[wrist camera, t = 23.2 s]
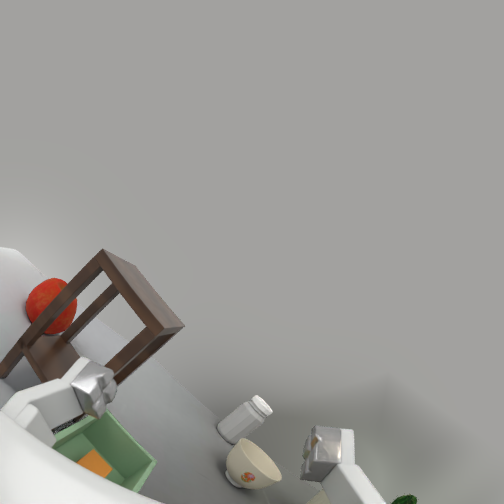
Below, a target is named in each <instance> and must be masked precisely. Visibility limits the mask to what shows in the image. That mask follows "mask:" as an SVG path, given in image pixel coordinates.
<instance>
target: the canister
mask: <svg viewBox="0 0 504 504" xmlns="http://www.w3.org/2000/svg"><path fill="white" fill-rule="evenodd" d="M307 504H331V503H330V501H329V499H328V497H327V495H326V493H325V491H324V489H322V490H321V491H320V492H319V493H318V494H317V495H316V496H315V497H313V498H312V499H311V500H310V501H309V502H308V503H307Z"/></svg>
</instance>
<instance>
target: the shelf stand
mask: <svg viewBox="0 0 504 504" xmlns="http://www.w3.org/2000/svg"><path fill="white" fill-rule="evenodd" d="M103 270H104V272H105V273H106V274H107V276H108V277H109V279H110V280H111V281H112V284H111V285H110V286H109V287H108V288H107V289H106V290H105V291H104V292H103V293H102V294H101V295H100V296H99V297H98V298H97V299H96V300H95V301H94V302H93V303H92V304H91V305H90V306H89V307H88V308H87V309H86V310H85V311H84V312H83V313H82V314H81V315H80V316H79V317H78V318H77V319H76V320H75V321H74V322H73V323H72V324H71V325H70V326H69V327H68V328H67V330H66V331H65V332H64V333H63V334H62V335H61V336H41V335H42V334H43V333H44V332H45V331H46V330H47V328H48V327H49V326H50V325H51V324H52V323H53V322H54V321H55V320H56V319H57V317H58V316H59V315H60V314H61V313H62V312H63V311H64V310H65V309H66V308H67V307H68V306H69V305H70V304H71V302H72V301H73V300H74V299H75V298H76V297H77V296H78V295H79V294H80V293H81V292H82V291H83V290H84V289H85V288H86V287H87V286H88V285H89V284H90V283H91V282H92V281H93V280H94V279H95V278H96V277H97V276H98V275H99V274H100V273H101V272H102V271H103ZM119 293H120V294H121V295H122V296H123V297H124V299H125V300H126V301H127V303H128V304H129V305H130V306H131V308H132V309H133V310H134V311H135V313H136V314H137V315H138V317H139V318H140V319H141V320H142V321H143V323H144V324H145V325H146V328H144V329H143V330H142V331H141V332H140V333H139V334H138V335H137V336H136V337H135V338H134V339H133V340H131V341H130V342H129V343H128V344H127V345H126V346H125V347H124V348H123V349H122V350H121V351H120V352H119V353H118V354H116V355H115V356H114V357H113V358H112V359H111V360H110V361H109V362H108V363H107V364H106V365H105V367H107V368H109V369H111V370H113V372H114V377H113V379H114V380H115V382H116V384H117V387H118V386H119V385H120V384H121V383H122V382H123V381H124V380H125V379H127V378H128V377H129V376H130V375H131V374H132V373H133V372H134V371H136V370H137V369H138V368H139V367H140V366H141V365H142V364H143V363H145V362H146V361H147V360H148V359H149V358H150V357H151V356H152V355H153V354H154V353H156V352H157V351H158V350H159V349H160V348H161V347H162V346H163V345H165V344H166V343H167V342H168V341H169V340H170V339H171V338H172V337H173V336H175V335H176V334H177V333H178V332H179V331H180V330H181V329H182V328H183V327H185V325H184V324H183V323H182V322H181V321H180V319H179V318H178V317H177V316H176V315H175V314H174V312H173V311H172V310H171V309H170V308H169V307H168V305H167V304H166V303H165V302H164V301H163V300H162V298H161V297H160V296H159V295H158V293H157V292H156V291H155V290H154V289H153V288H152V286H151V285H150V284H149V282H148V281H147V280H146V279H145V278H144V276H143V275H142V274H141V272H140V271H139V270H138V269H137V268H136V266H135V265H133V264H131V263H129V262H127V261H125V260H123V259H121V258H119V257H117V256H116V255H114V254H112V253H110V252H108V251H106V250H104V249H102V250H101V251H99V253H97V255H96V256H94V258H92V259H91V260H90V261H89V262H88V263H87V264H86V266H84V267H83V268H82V270H81V271H80V272H79V273H78V274H77V275H76V276H75V277H74V278H73V279H72V280H71V281H70V282H69V283H68V284H67V285H66V286H65V287H64V288H63V289H62V291H61V292H60V293H59V294H58V295H57V296H56V297H55V298H54V299H53V300H52V302H51V303H50V304H49V305H48V306H47V307H46V308H45V309H44V311H43V312H42V313H41V314H40V315H39V316H38V317H37V319H36V320H35V321H34V322H33V323H32V324H31V326H30V327H29V328H28V329H27V330H26V332H25V333H24V334H23V335H22V336H21V338H20V339H19V340H18V341H17V343H16V344H15V345H14V346H13V348H12V349H11V350H10V351H9V353H8V354H7V355H6V357H5V358H4V359H3V361H2V362H1V363H0V379H1V378H6V377H7V376H8V375H9V373H10V372H11V371H12V370H13V368H14V367H15V366H16V365H17V363H18V362H19V361H20V360H21V359H22V357H23V356H24V355H25V357H26V358H27V360H28V362H29V363H30V365H31V366H32V368H33V370H34V371H35V373H36V374H37V376H38V378H39V379H40V381H41V382H42V384H43V383H46V382H49V381H52V380H55V379H57V378H58V379H61V378H62V377H63V376H64V375H65V374H66V372H67V371H68V370H69V369H70V368H71V367H72V366H73V365H74V363H75V362H76V361H77V360H78V359H79V358H80V356H79V355H78V353H77V352H76V351H75V349H74V348H73V346H72V345H71V343H70V342H71V341H72V340H73V339H74V338H75V337H76V336H77V335H78V334H79V333H80V332H81V331H82V330H83V329H84V328H85V327H86V326H87V325H88V324H89V323H90V322H91V321H92V320H93V319H94V318H95V317H96V315H98V314H99V312H101V311H102V310H103V309H104V307H106V306H107V305H108V304H109V303H110V302H111V301H112V300H113V299H114V298H115V297H116V296H117V295H118V294H119ZM85 415H86V413H84V412H83V414H81V415H79V416H77V417H75V418H73V420H74V421H75V422H77V421H79V420H80V419H81V418H83V417H84V416H85ZM61 425H62V424H61ZM59 426H60V425H59ZM59 426H57V427H55V428H53V429H51V431H52V432H54V431H55V430H56V429H57V428H58V427H59Z"/></svg>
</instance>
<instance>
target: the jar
mask: <svg viewBox="0 0 504 504" xmlns="http://www.w3.org/2000/svg"><path fill="white" fill-rule="evenodd" d="M271 413H272V409H271V408H270V407H269V405H268V404H267V403H266V402H265V401H264V400H263V399H261V398H260V397H259V396H257V395H255V396H254V397H253V398H252V400H249V402H244V403H243V404H242V405H240V406H239V407H238V408H237V409H236V410H234V411H233V412H232V413H231V414H230V415H228V416H227V417H226V418H225V419H223V420H222V421H221V422H220V423H219V424H218V427H217V429H218V432H219V433H220V435H221V436H222V437H223V438H224V439H225V440H226V441H227V442H229V443H231V444H237V443H238V441H239V440H240V439H242V438H245V437H246V436H247V435H249V434H250V433H251V432H253V431H254V430H255V429H256V428H258V427H259V426H260V425H261V424H262V423H264V418H266V416H267V415H268V416H269V415H270V414H271Z"/></svg>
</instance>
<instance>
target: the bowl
mask: <svg viewBox="0 0 504 504" xmlns="http://www.w3.org/2000/svg"><path fill="white" fill-rule="evenodd" d="M226 467H227V470H226V472H225V474H226V477H227V478H228V480H229V481H230V482H231V483H232V484H233V485H234V486H236V487H238V488H242V487H244V488H248V489H261V488H265V487H267V486H270V485H272V484H274V483H276V482H279V481H280V480H281V479H282V476H281V473H280V471H279V469H278V468H277V466H276V465H275V464H274V462H273V461H272V460H271V459H270V458H269V457H268V456H267V454H266V453H265V452H264V451H262V450H261V449H260V448H259V447H258V446H257V445H255V444H254V443H252V442H251V441H249V440H247V439H244V438H242V439H240V440H239V441H238V443H237V444H236V445H235V446H234V447H233V449H232V450H231V451H230V453H229V454H228V457H227V460H226Z"/></svg>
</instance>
